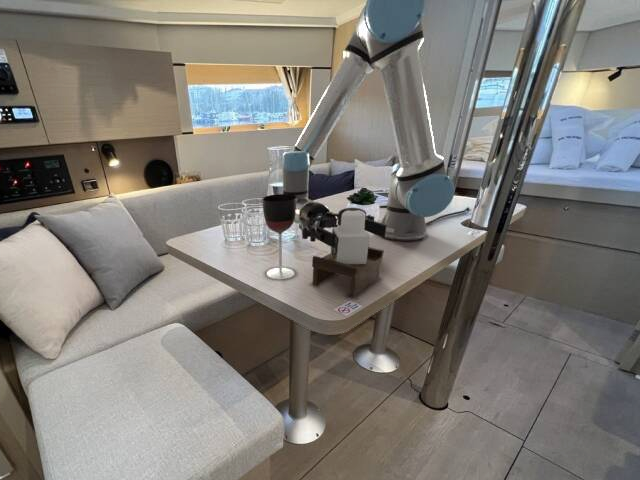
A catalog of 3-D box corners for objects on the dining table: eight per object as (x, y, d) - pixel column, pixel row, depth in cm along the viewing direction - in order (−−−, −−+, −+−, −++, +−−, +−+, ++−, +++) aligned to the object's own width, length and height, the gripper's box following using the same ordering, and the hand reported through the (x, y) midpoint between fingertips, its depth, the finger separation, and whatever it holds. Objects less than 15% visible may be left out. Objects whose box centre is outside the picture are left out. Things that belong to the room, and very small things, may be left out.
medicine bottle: (330, 254, 80) (333, 206, 74) (358, 253, 80) (364, 205, 74) (335, 265, 74) (339, 214, 68) (366, 264, 73) (373, 212, 67)
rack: (340, 267, 87) (342, 241, 84) (379, 277, 80) (383, 250, 77) (311, 285, 79) (312, 257, 75) (352, 298, 72) (355, 268, 68)
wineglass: (258, 274, 86) (255, 199, 76) (280, 264, 91) (279, 192, 81) (280, 282, 81) (279, 203, 71) (302, 272, 86) (303, 196, 76)
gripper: (347, 222, 94) (400, 242, 76) (271, 235, 86) (310, 261, 69) (350, 195, 90) (406, 211, 72) (270, 207, 83) (311, 228, 65)
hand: (359, 236), depth 71 cm, fingers open, 13 cm apart
